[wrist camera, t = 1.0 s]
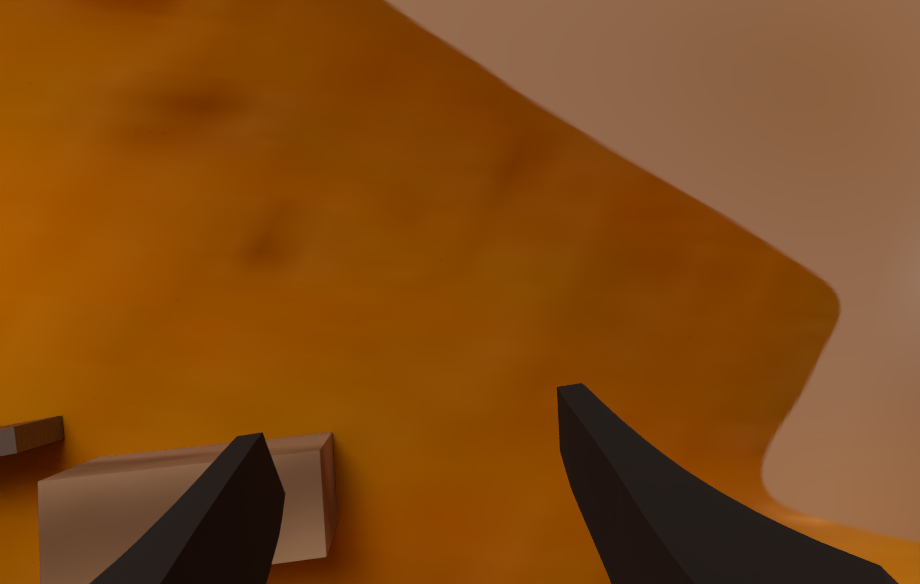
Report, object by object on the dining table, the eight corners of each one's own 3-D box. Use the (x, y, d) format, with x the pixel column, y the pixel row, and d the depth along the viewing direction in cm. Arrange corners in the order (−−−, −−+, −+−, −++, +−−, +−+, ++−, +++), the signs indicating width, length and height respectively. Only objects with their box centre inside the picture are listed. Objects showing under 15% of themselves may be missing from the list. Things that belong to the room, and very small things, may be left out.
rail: (338, 519, 24) (326, 556, 20) (103, 549, 22) (40, 595, 18) (332, 431, 24) (319, 450, 20) (100, 456, 23) (37, 481, 19)
